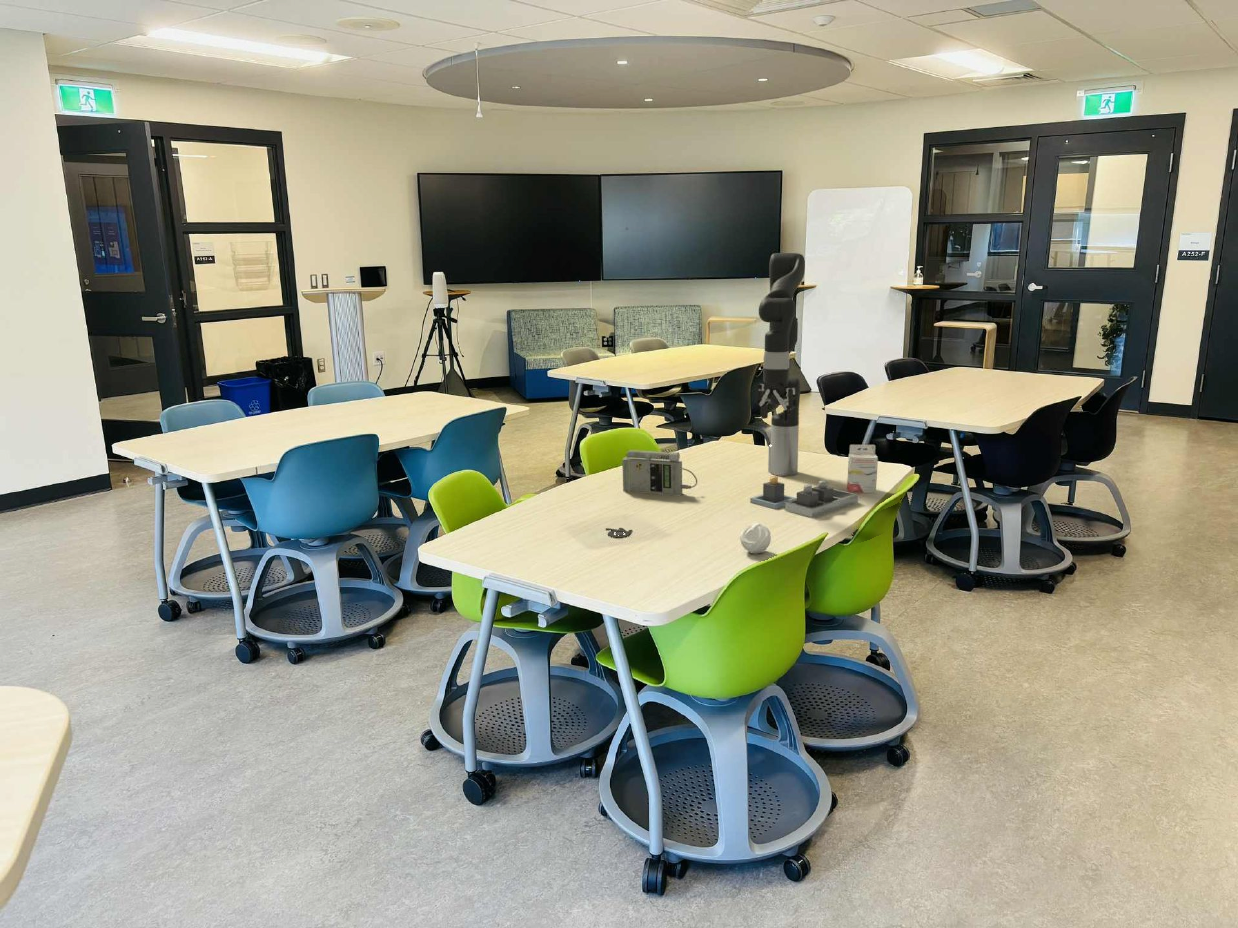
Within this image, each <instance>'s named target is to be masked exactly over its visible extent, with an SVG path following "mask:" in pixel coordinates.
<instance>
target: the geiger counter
mask: <svg viewBox="0 0 1238 928" xmlns="http://www.w3.org/2000/svg"><path fill="white" fill-rule="evenodd" d="M680 455H681V454H680V452H679V451H678V452H677V451H670V452H666V451H665V452H664V451H663V452H662V451H649V450H634V449H633V450H632V449H631V450H630V449H629V450H628V451H627V452H626V453H625V457H623V458H622V462H621V463H622V491H623V492H630V493H631V492H632V493H641V494H643V493H644V494H654V495H665V496H677V497H679V496H682V494H683V490H684V489H685V490H688V489H689V490H691V489H692V488H694V487H696V486H697V485H698V479H697V476H696V475H695V474H694V472H692V471H691V470H689V469H687V468H684V467H683V461H682V460H680V457H681V456H680ZM683 471H686V472H689V473H690V474H691V475H692V476H693V477H694V479H695V484H694V485H690V484H689V485H688V484H683Z"/></svg>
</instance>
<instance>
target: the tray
mask: <svg viewBox="0 0 1238 928" xmlns="http://www.w3.org/2000/svg"><path fill="white" fill-rule="evenodd" d="M749 499H750V502H749V503H750V504H754V505H758V506H762V507H765V508H769V509H772V510H778V509H781V508H785V502H788V501H791V500H794V499H797V497H793V496H789V495H785V494H784V501H781V502H778V503H772V502H768V501H764V500H763V494H760V495H757V496H753V497H750V498H749Z"/></svg>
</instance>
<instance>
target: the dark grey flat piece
mask: <svg viewBox="0 0 1238 928" xmlns="http://www.w3.org/2000/svg"><path fill="white" fill-rule="evenodd" d="M605 529H606V530H605V531H607V530H611V531H608V532H607V536H608V537H609V536H611V537H610V538H612V537H613V539H624V538H623V537H625V538H628V537H630V536H631V535H632V533H633V530H632V529H628V530H626V529H624V528H623V527H619V528H618V529H617V528H610V527H607V528H605ZM619 529H620V530H619ZM614 532H616V533H615V534H616V535H614ZM623 532H624V533H625V535H623V534H624V533H623ZM631 532H632V533H631ZM618 535H619V536H618ZM627 536H628V537H627Z"/></svg>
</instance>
